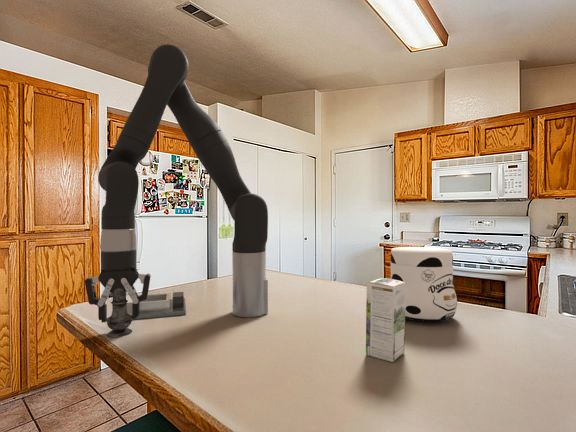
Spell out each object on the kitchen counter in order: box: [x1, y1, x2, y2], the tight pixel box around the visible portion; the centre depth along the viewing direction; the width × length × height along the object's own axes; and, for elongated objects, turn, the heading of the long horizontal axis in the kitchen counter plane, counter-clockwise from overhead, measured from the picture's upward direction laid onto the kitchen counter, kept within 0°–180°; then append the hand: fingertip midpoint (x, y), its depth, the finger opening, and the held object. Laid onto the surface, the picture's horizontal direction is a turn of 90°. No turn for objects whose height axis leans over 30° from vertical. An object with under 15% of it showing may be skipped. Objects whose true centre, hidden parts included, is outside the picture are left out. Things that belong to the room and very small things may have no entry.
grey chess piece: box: [105, 288, 133, 338], centre depth 79 cm, size 6×6×12 cm
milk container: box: [389, 246, 458, 323], centre depth 91 cm, size 17×17×18 cm
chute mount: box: [127, 291, 187, 320], centre depth 97 cm, size 18×14×4 cm
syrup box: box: [365, 277, 406, 363], centre depth 66 cm, size 6×6×14 cm
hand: (119, 319), depth 79 cm, fingers closed on grey chess piece, 6 cm apart
